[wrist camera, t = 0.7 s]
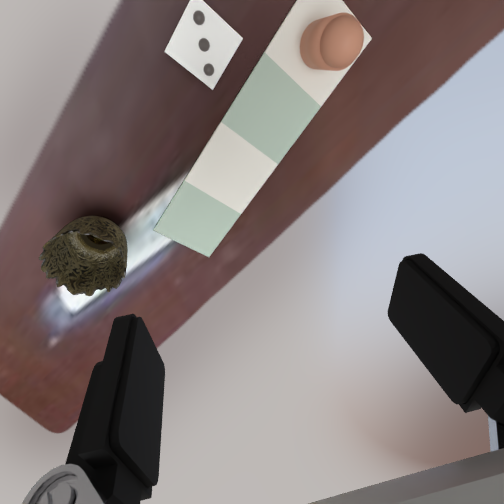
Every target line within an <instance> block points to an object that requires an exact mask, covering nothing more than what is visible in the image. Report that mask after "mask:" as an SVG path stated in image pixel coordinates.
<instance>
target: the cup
mask: <svg viewBox="0 0 504 504" xmlns="http://www.w3.org/2000/svg"><path fill="white" fill-rule="evenodd" d="M39 260H43V262H42V265H41V270H42V271H43V272H46V278H56V284H57V287H60V286H62V285H64V286H66V288H67V290H68V291H69V292H70V293H72V294H73V295H78V294H83V293H85V294H86V295H87V296H92V295H93V294H94V292H95V291H96V290H97V289H100V290H103V289H105V288H106V289H107V292H110V291H111V289H112V288H115V289H117V288H118V287H119V285H120V283H121V281H122V278H125V275H126V267H127V241H126V238H125V235H124V233H123V232H122V230H121V229H120V228H119V227H118V226H117V225H116V224H115V223H114V222H113V221H112V220H110V219H109V218H106V217H102V216H86V217H81V218H78V219H76V220H74V221H72V222H70V223H69V224H68V225H66V226H65V227H64V228H63V229H61V230H60V231H59V232H58V233H57V234H56V235H55V236H54V237H53V238H52V239H51V240H49V241H48V242H47V243H46V244H45V245H44V246H43V252H42V253H41V255H40V257H39Z"/></svg>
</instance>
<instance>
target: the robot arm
mask: <svg viewBox="0 0 504 504" xmlns="http://www.w3.org/2000/svg"><path fill="white" fill-rule="evenodd" d="M388 317H389V319H390V321H391V322H392V324H393V325H394V326H395V328H396V329H397V330H398V331H399V333H400V334H401V335H402V337H403V338H404V339H405V341H406V342H407V343H408V345H409V346H410V347H411V348H412V350H413V351H414V352H415V354H416V355H417V356H418V358H419V359H420V360H421V362H422V363H423V364H424V365H425V367H426V368H427V369H428V370H429V372H430V373H431V374H432V376H433V377H434V378H435V380H436V381H437V382H438V384H439V385H440V386H441V388H442V389H443V390H444V391H445V393H446V394H447V395H448V397H449V398H450V399H451V400H452V401H453V402H454V403H455V404H459V405H460V406H461V408H462V409H463V410H464V412H465V413H467V412H470V411H474V410H478V409H481V407H482V409H483V410H484V411H485V412H486V413H487V414H488V422H489V435H490V450H491V452H488V453H485V454H481V455H478V456H474V457H471V458H467V459H463V460H460V461H456V462H453V463H449V464H445V465H442V466H438V467H435V468H432V469H428V470H425V471H421V472H417V473H414V474H410V475H407V476H403V477H400V478H396V479H393V480H389V481H386V482H382V483H379V484H375V485H372V486H368V487H365V488H361V489H358V490H354V491H351V492H347V493H344V494H340V495H337V496H334V497H330V498H327V499H323V500H319V501H316V502H312V503H309V504H504V321H503V320H502V319H501V318H499V317H498V316H497V315H496V314H495V313H493V312H492V311H491V310H490V309H489V308H488V307H486V306H485V305H484V304H483V303H482V302H480V301H479V300H478V299H477V298H476V297H474V296H473V295H472V294H471V293H469V292H468V291H467V290H466V289H465V288H464V287H462V286H461V285H460V284H459V283H458V282H457V281H455V280H454V279H453V278H452V277H451V276H449V275H448V274H447V273H446V272H445V271H444V270H442V269H441V268H440V267H439V266H438V265H436V264H435V263H434V262H433V261H432V260H430V259H429V258H428V257H427V256H426V255H424V254H415V255H411V256H406V257H404V258H403V260H402V262H400V264H399V267H398V271H397V276H396V279H395V283H394V288H393V292H392V296H391V300H390V304H389V308H388ZM164 379H165V368H164V363H163V361H162V359H161V357H160V355H159V353H158V351H157V348H156V346H155V344H154V342H153V340H152V338H151V336H150V334H149V332H148V330H147V328H146V326H145V324H144V321H143V319H142V318H141V317H136V316H135V315H134V314H130V315H125V316H121V317H116V318H115V319H114V321H113V325H112V329H111V333H110V336H109V340H108V344H107V348H106V352H105V355H104V359H103V361H101V362H98V363H97V364H96V365H95V366H94V369H93V371H92V374H91V378H90V381H89V385H88V388H87V392H86V395H85V399H84V402H83V405H82V409H81V412H80V416H79V419H78V423H77V426H76V429H75V433H74V436H73V440H72V443H71V447H70V450H69V454H68V457H67V461H66V464H65V465H61V466H59V467H56V468H54V469H52V470H51V471H49V472H48V473H47V474H45V475H44V476H43V477H42V478H41V479H40V480H39V481H38V482H37V483H36V484H35V485H34V486H33V487H32V488H31V490H30V492H29V493H28V495H27V496H26V498H25V499H24V501H23V504H140V501H141V500H145V499H149V498H151V495H152V486H155V485H156V484H157V482H158V476H159V459H160V444H161V428H162V412H163V396H164Z"/></svg>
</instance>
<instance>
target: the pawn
mask: <svg viewBox="0 0 504 504" xmlns="http://www.w3.org/2000/svg"><path fill="white" fill-rule="evenodd" d="M363 42H364V32H363V28H362V26H361V24H360V22H359V21H358V20H357V19H356V18H355V17H354V16H353V15H351V14H349V13H338V14H334V15H331V16H328V17H324V18H321V19H318V20H315V21H313V22H312V23H310V24H309V25H308V26H307V27H306V29H305V30H304V32H303V34H302V37H301V41H300V54H301V58H302V60H303V62H304V63H305V64H306V65H307V66H308V67H309V68H312V69H316V70H331V71H340V70H343V69H345V68H347V67H348V66H349V65H351V64H352V63H353V61H354V60H355V59H356V58H357V57H358V55H359V54H360V52H361V49H362V47H363Z"/></svg>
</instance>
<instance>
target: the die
mask: <svg viewBox="0 0 504 504" xmlns="http://www.w3.org/2000/svg"><path fill="white" fill-rule="evenodd" d="M242 39H243V38H242V37H241V36H240V35H239V34H238V33H237V32H236V31H235V30H234V29H232V28H231V27H230V26H229V25H228V24H227V23H226V22H225V21H224V20H223V19H222V18H221V17H220V16H219V15H218V14H217V13H216V12H215V11H213V10H212V9H211V8H210V7H209V6H208V5H207V4H206V3H205V2H204V1H203V0H190V1H189V3H188V5H187V7H186V9H185V11H184V13H183V15H182V17H181V19H180V21H179V23H178V25H177V27H176V29H175V31H174V33H173V35H172V37H171V39H170V41H169V43H168V45H167V47H166V49H165V51H164V52H166V53H167V54H168V55H169V56H171V57H172V58H173V59H174V60H176V61H177V62H178V63H179V64H181V65H182V66H183V67H184V68H186V69H187V70H188V71H189V72H191V73H192V74H193V75H195V76H196V77H197V78H198V79H200V80H201V81H202V82H203V83H205V84H206V85H207V86H208V87H210V88H211V89H212V90H213V89H214V87H215V85H216V84H217V82H218V80H219V78H220V77H221V75H222V73H223V72H224V70H225V68H226V67H227V65H228V63H229V61H230V60H231V58H232V56H233V55H234V53H235V51H236V50H237V48H238V46H239V44H240V43H241V41H242Z"/></svg>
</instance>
